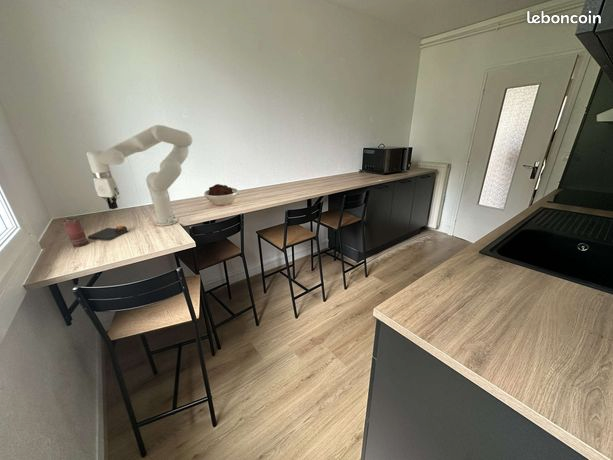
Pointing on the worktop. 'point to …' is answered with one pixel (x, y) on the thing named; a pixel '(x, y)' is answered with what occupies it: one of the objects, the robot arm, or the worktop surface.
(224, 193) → the filled cream bowl
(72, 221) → the can
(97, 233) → the scale
